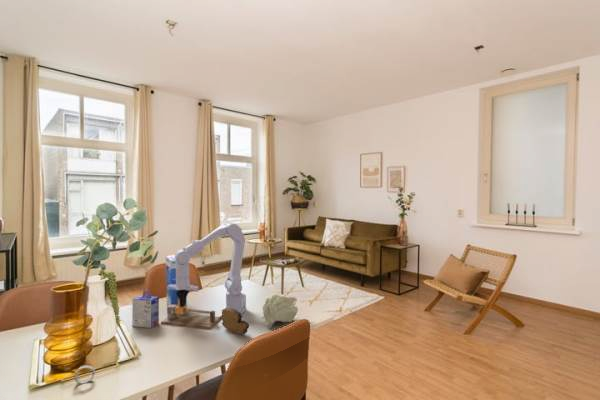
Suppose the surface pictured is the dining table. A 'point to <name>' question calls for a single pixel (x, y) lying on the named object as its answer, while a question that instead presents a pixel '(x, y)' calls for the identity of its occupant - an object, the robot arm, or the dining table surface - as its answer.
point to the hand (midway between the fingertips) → (183, 305)
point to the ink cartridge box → (145, 311)
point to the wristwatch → (85, 380)
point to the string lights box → (171, 280)
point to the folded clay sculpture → (279, 309)
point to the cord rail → (190, 318)
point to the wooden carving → (234, 321)
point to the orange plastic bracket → (179, 308)
